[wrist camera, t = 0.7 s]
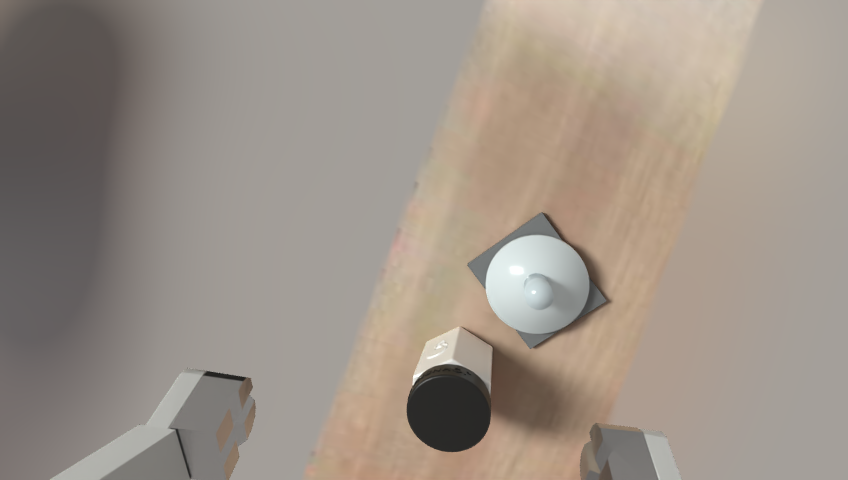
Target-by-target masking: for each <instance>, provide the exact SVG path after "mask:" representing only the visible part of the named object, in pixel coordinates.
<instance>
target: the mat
mask: <svg viewBox="0 0 848 480" xmlns="http://www.w3.org/2000/svg"><path fill="white" fill-rule="evenodd" d="M530 234H544V235H549V236H553V237H556V238H558V239H560V240H562V239H561V238H560V236H559V235H558V234H557V232H556V231H555V230H554V228H553V227H552V226H551V224H550V223H549V221H548V220H547V219H546V217H545V216H544V215H543V213H542V212H541V213H540V214H538V215H537V216H535V217H534V218H532V219H531V220H529V221H528V222H527V223H525V224H524V225H522V226H521V227H519V228H518V229H517V230H515V231H514V232H512V233H511V234H509V235H508V236H507V237H505V238H504V239H502V240H501V241H499V242H498V243H497V244H495V245H494V246H492V247H491V248H489V249H488V250H486V251H485V252H484V253H482V254H481V255H479V256H478V257H476V258H475V259H474V260H472V261H471V262H469V263H468V267H469V268H470V269H471V271H472V272H473V273H474V275H475V276H476V277H477V279H478V280H479V281H480V283H481V284H482V285H483V287H484V288H485V289H486V275H487V271H488V267H489V265H490V262H491V260H492V258H493V257H494V255H495V254H496V253H497V252H498V250H499V249H500V248H501V247H503V246H504V245H505V244H506V243H508V242H510V241H511V240H513V239H515V238H518V237H521V236H524V235H530ZM605 302H606V299H605V298H604V297H603V295H602V294H601V292H600V291H599V290H598V288H597V287H596V286H595V284H594V283H593V282H592V280H591V279H590V277H589V294H588V298H587V301H586V304H585V306H584V308H583V309H582V311H581V312H580V314H579V315H578V316H577V317H576V318H575V319H574V320H573V321H572V322H571V323H573V322H574V321H576V320H577V319H579V318H581V317H582V316H584V315H585V314H587V313H589V312H590V311H592V310H593V309H595V308H597V307H598V306H600V305H601V304H603V303H605ZM571 323H569V324H571ZM569 324H568V325H569ZM568 325H567V326H568ZM565 327H566V326H565ZM565 327H563V328H565ZM563 328H561V329H563ZM561 329H559V330H556V331H554V332H550V333H544V334H532V333H526V332H522V331H519V330H516V331H517V332H518V333H519V335H520V336H521V338H522V339H523V340H524V342H525V343H526V344H527V346H528V347H529V348H530V349H531V348H533V347H534V346H536V345H537V344H539V343H541V342H542V341H544V340H545V339H547V338H549V337H550V336H552V335H553V334H555V333H557V332H558V331H560V330H561Z"/></svg>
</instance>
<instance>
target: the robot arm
mask: <svg viewBox="0 0 848 480" xmlns="http://www.w3.org/2000/svg"><path fill="white" fill-rule="evenodd" d="M252 388H253V386H252V382H251V378H248V377H242V376H236V375H229V374H223V373H216V372H210V371H204V370H197V369H190V368H187V369H185V370H184V371H183V372H182V373H181V374H180V375H179V376H178V378H177V379H176V381H175V382H174V384H173V385H172V387H171V388H170V390H169V391H168V393H167V394H166V396H165V397H164V399H163V400H162V402H161V403H160V405H159V406H158V408H157V409H156V411H155V412H154V414H153V415H152V417H151V418H150V420H149V421H148V422H147V424H146V425H138V426H136V427H135V428H133V429H131V430H130V431H128V432H126V433H125V434H123V435H122V436H120V437H118V438H117V439H115V440H114V441H112V442H110V443H109V444H107V445H105V446H104V447H102V448H101V449H99V450H97V451H96V452H94V453H92V454H91V455H89V456H88V457H86V458H84V459H83V460H81V461H79V462H78V463H76V464H75V465H73V466H71V467H70V468H68V469H66V470H65V471H63V472H62V473H60V474H58V475H57V476H55V477H53V478H52V479H50V480H190V479H194V480H229V478H230V476H231V474H232V472H233V470H234V468H235V465H236V463H237V461H238V459H239V452H238V446H239V445H241V444H242V443H243V442H245V441H246V440H247V439H248V437H249V434H250V432H251V429H252V426H253V422H254V418H255V400H254V399H253V398H252V397H251V396H250V395H249V394H250V392H251V390H252ZM590 438H591V441H590V442H588V443H586V444H585V445H584V447H583V450H582V453H581V459H580V476H581V480H682V478H681V476H680V473H679V470H678V467H677V465H676V462H675V460H674V457H673V454H672V451H671V449H670V446H669V443H668V441H667V438H666V436H665V435H664V433H663V432H660V431H652V430H645V429H638V428H634V427H625V426H617V425H608V424H600V423H595V424H594V425H593V426H592V428H591V430H590Z"/></svg>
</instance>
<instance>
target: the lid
mask: <svg viewBox="0 0 848 480" xmlns="http://www.w3.org/2000/svg"><path fill="white" fill-rule="evenodd" d="M486 293H487V298H488V301H489V303H490V305H491V307H492V309H493V311H494V312H495V314H496V315H497V316H498V317H499V318H500V319H501V320H502V321H503V322H504V323H506V324H507V325H509V326H510V327H512V328H514V329H516V330H519V331H522V332H526V333H532V334H544V333H550V332H554V331H556V330H559V329H561V328H563V327H565V326H567V325H568V324H569V323H571V322H572V321H573V320H574V319H575V318H576V317H577V316H578V315H579V314H580V312H581V311H582V309H583V308H584V306H585V304H586V301H587V298H588V294H589V276H588V272H587V269H586V266H585V264H584V262H583V261H582V259H581V257H580V256H579V255H578V253H577V252H576V251H575V250H574V249H573V248H572V247H571V246H570V245H568V244H567V243H566V242H564V241H562V240H560V239H558V238H556V237H553V236H549V235H544V234H530V235H524V236H521V237H518V238H515V239H513V240H511V241H510V242H508V243H506V244H505V245H504V246H503V247H501V248H500V249H499V250H498V252H497V253H496V254H495V255H494V257H493V258H492V260H491V262H490V265H489V267H488V271H487V275H486Z"/></svg>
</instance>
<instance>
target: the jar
mask: <svg viewBox="0 0 848 480" xmlns="http://www.w3.org/2000/svg"><path fill="white" fill-rule="evenodd" d="M492 354H493V348H492V346H490V345H489V344H487V343H485V342H484V341H482V340H481V339H479V338H478V337H476V336H474V335H473V334H471V333H470V332H468V331H467V330H465V329H463V328H462V327H457V328H455V329H453V330H451V331H448V332H446V333H444V334H442V335H440V336H438V337H435V338H433V339H431V340H429V341H427V342H426V344H425V347H424V350H423V352H422V355H421V357H420V360H419V362H418V365H417V368H416V370H415V373H414V375H413V386H412V388H411V391H410V394H409V397H408V402H407V418H408V422H409V424H410V427H411V429H412V430H413V432H414V433H415V435H416V436H417V437H418V438H419V439H420V440H421V441H422V442H424V443H425V444H427V445H428V446H430V447H432V448H434V449H437V450H440V451H445V452H459V451H463V450H467V449H469V448H471V447H473V446H475V445H476V444H477V443H478V442H480V441H481V440H482V438H483V437H484V436H485V434H486V432H487V430H488V428H489V425H490V419H491V398H490V394H491V374H492Z"/></svg>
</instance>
